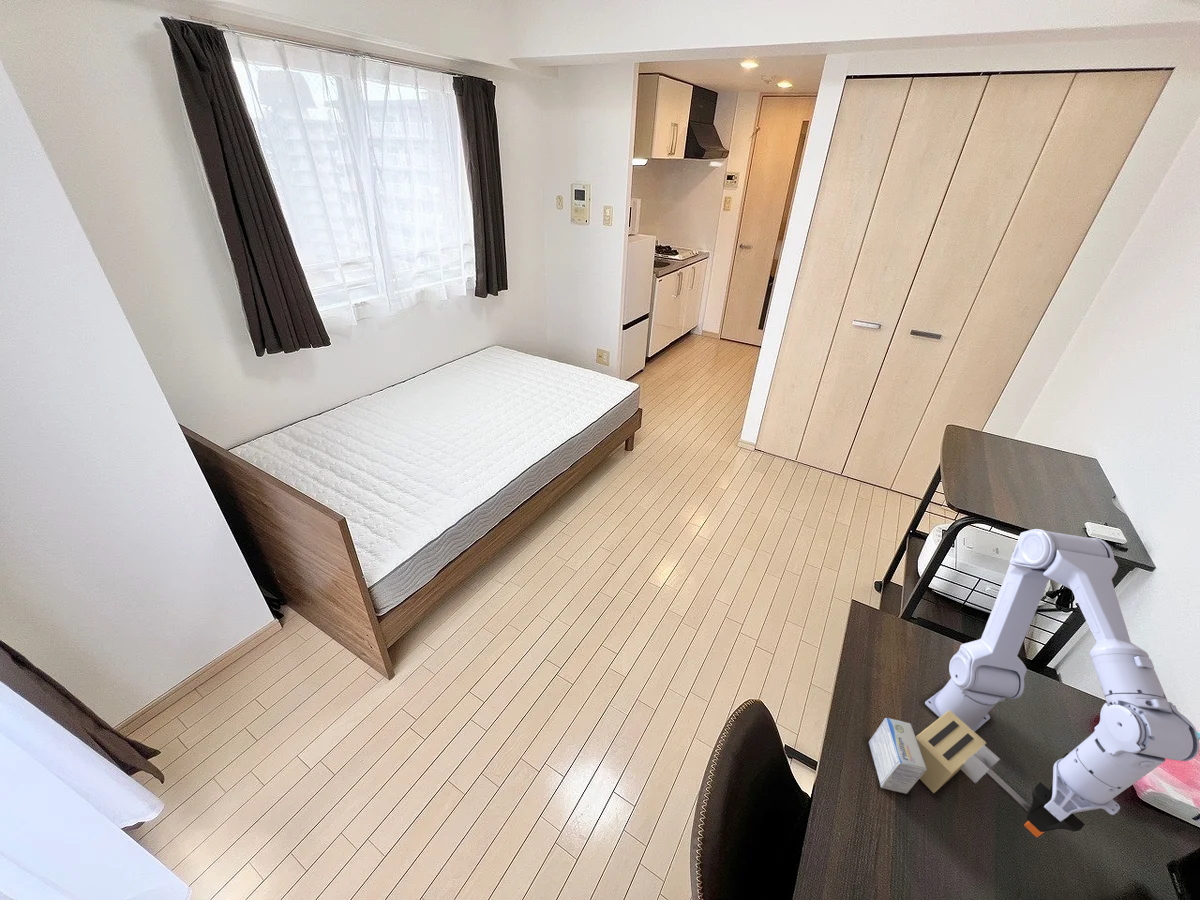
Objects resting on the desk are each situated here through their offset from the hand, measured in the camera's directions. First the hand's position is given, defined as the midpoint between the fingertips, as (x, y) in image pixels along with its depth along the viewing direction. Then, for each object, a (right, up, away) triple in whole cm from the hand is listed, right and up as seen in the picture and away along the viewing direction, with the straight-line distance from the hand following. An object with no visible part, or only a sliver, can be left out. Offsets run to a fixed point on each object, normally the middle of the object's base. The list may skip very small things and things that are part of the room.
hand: (1046, 810), depth 73 cm
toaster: (-6, -3, +14) cm, 15 cm away
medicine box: (-17, -2, +13) cm, 21 cm away
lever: (-2, -1, +5) cm, 5 cm away
